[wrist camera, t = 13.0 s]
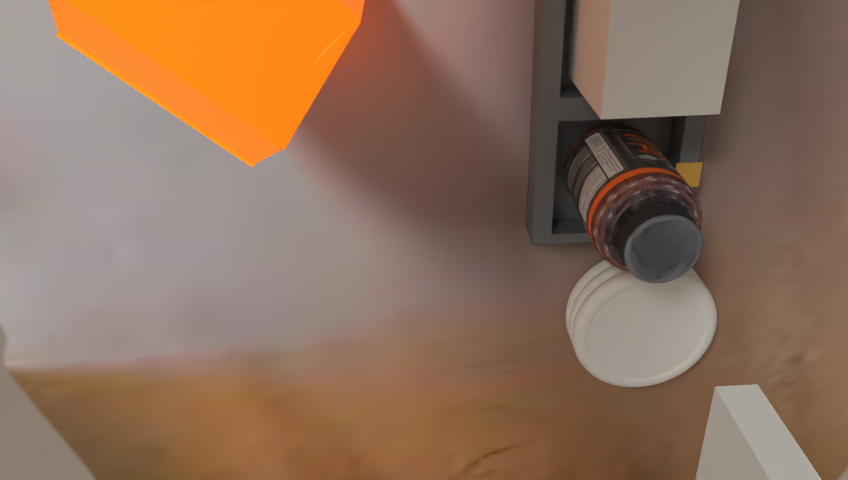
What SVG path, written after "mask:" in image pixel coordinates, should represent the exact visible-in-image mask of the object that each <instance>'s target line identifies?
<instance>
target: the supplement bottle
mask: <svg viewBox="0 0 848 480" xmlns="http://www.w3.org/2000/svg"><path fill="white" fill-rule="evenodd" d="M563 177H564V181H565V185H566V188H567V191H568V193H569V195H570V197H571V199H572V201H573V203H574V205H575V208H576V210H577V212H578V214H579V216H580V218H581V220H582V222H583V224H584V226H585V228H586V230H587V232H588V234H589V236H590V238H591V240H592V242H593V244H594V246H595V248H596V249H597V251H598V252H599V254H600V255H601V256H602V257H603V258H604V259H605V260H606V261H607V262H608V263H610V264H611V265H613V266H614V267H616V268H618V269H621V270H624V271H628V272H630V273H631V274H632V275H634V276H635V277H636V278H637V279H639V280H642V281H644V282H648V283H665V282H669V281H673V280H675V279H677V278H680V277H681V276H683V275H684V274H686V273H687V272H688V271H689V270H690V269H691V268H692V267H693V266H694V265H695V264H696V262H697V260H698V259H699V257H700V255H701V252H702V247H703V239H702V235H701V232H700V228H701V222H702V211H701V206H700V202H699V200H698V198H697V196H696V194H695V193H694V191H693V190H692V188H691V187H690V186H689V185H688V183H687V182H686V181H685V179H684V178H683V177H682V176H681V175H680V174H679V173H678V172H677V171H676V169H675V168H674V167H673V166H672V165H671V164H670V162H669V161H668V160H667V159H666V158H665V157H664V155H663V154H662V153H661V152H660V151H659V150H658V148H657V147H656V146H655V145H654V144H653V143H652V142H651V141H650V139H649V138H648V137H647V136H646V135H644V134H643V133H641V132H640V131H639V130H637V129H635V128H633V127H630V126H627V125H622V124H605V125H602V126H599V127H596V128H594V129H592V130H590V131H588V132H587V133H585V134H584V135H582V136H581V137H580V138H579V139H578V140H577V141H576V142H575V143H574V144H573V146H572V147H571V149H570V150H569V152H568V154H567V156H566V159H565V162H564V168H563Z"/></svg>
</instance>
